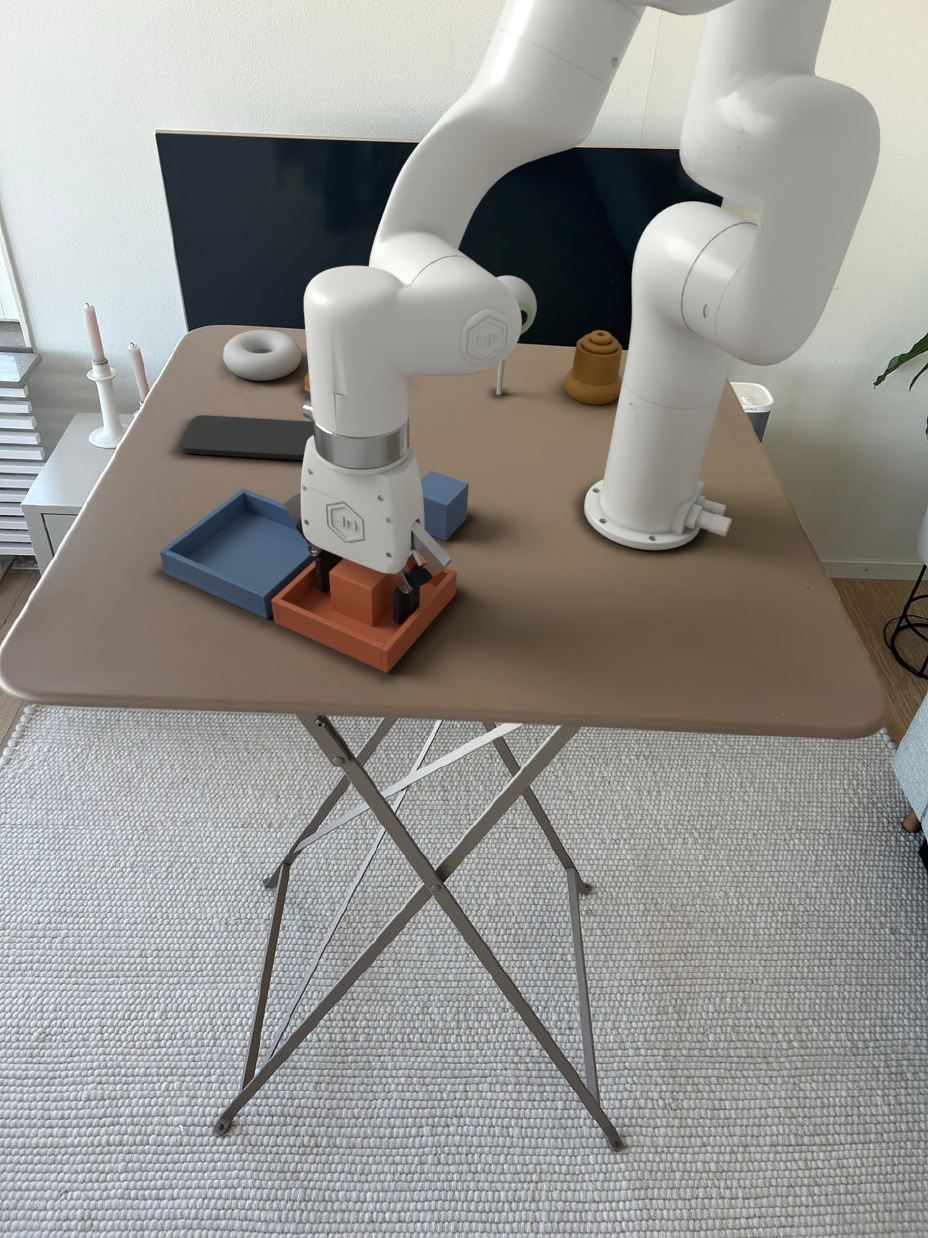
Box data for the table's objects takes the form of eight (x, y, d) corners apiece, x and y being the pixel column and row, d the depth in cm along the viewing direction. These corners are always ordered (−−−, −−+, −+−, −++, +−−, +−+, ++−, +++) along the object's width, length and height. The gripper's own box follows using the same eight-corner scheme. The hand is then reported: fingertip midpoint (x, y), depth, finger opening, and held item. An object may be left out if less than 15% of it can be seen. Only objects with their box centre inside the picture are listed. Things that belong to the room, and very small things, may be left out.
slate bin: (342, 548, 89) (341, 526, 87) (266, 619, 81) (263, 596, 79) (246, 510, 92) (242, 487, 91) (164, 573, 84) (159, 551, 83)
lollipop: (488, 412, 110) (497, 293, 99) (461, 386, 114) (468, 270, 104) (536, 401, 112) (551, 284, 102) (509, 376, 117) (520, 262, 106)
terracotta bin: (455, 594, 84) (457, 572, 83) (387, 673, 76) (387, 651, 74) (349, 551, 88) (348, 529, 86) (273, 622, 80) (271, 600, 78)
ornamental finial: (622, 383, 117) (617, 411, 111) (567, 375, 118) (559, 402, 112) (633, 325, 111) (628, 351, 106) (575, 317, 112) (567, 342, 107)
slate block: (466, 518, 93) (469, 483, 90) (445, 541, 90) (447, 505, 87) (430, 505, 95) (431, 470, 92) (408, 526, 92) (408, 491, 89)
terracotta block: (398, 598, 83) (398, 561, 80) (372, 627, 80) (371, 589, 77) (358, 582, 84) (357, 545, 81) (331, 609, 81) (328, 572, 78)
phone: (194, 413, 104) (321, 421, 104) (195, 420, 105) (321, 427, 105) (177, 447, 99) (310, 455, 99) (178, 454, 99) (310, 462, 99)
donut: (280, 392, 111) (315, 357, 118) (277, 367, 108) (313, 332, 115) (210, 376, 113) (248, 342, 120) (205, 351, 110) (245, 318, 117)
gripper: (243, 422, 70) (266, 589, 82) (433, 491, 64) (428, 659, 76) (300, 383, 75) (314, 546, 87) (481, 444, 69) (469, 609, 81)
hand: (367, 598), depth 82 cm, fingers open, 7 cm apart
